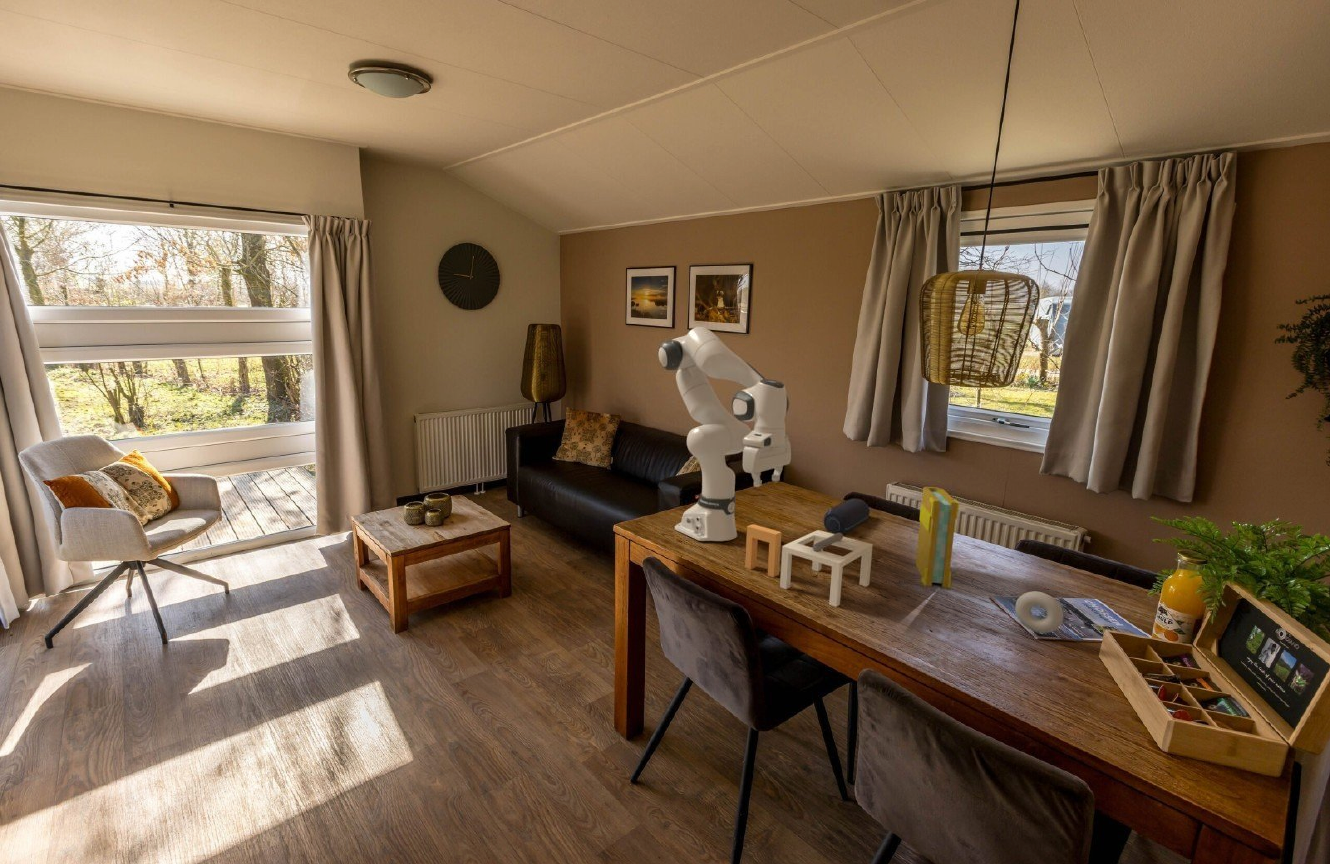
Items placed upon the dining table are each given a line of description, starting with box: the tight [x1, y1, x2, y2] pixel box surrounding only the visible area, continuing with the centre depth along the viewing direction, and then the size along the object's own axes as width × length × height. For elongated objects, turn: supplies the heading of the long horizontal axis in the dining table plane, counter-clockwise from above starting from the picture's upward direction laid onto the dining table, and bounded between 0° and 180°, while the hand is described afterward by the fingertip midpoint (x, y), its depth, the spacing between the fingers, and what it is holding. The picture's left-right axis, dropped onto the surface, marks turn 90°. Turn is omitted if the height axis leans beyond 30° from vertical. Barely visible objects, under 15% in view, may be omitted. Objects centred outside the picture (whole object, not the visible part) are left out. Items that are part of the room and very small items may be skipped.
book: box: [915, 486, 960, 589], centre depth 175 cm, size 17×7×25 cm, turn 168°
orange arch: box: [744, 524, 782, 578], centre depth 176 cm, size 10×3×13 cm, turn 47°
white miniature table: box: [779, 529, 874, 608], centre depth 166 cm, size 17×20×14 cm
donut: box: [1014, 590, 1064, 634], centre depth 143 cm, size 10×4×10 cm, turn 48°
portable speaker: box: [822, 498, 871, 536], centre depth 216 cm, size 25×10×10 cm, turn 141°
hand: (766, 483), depth 172 cm, fingers open, 8 cm apart
